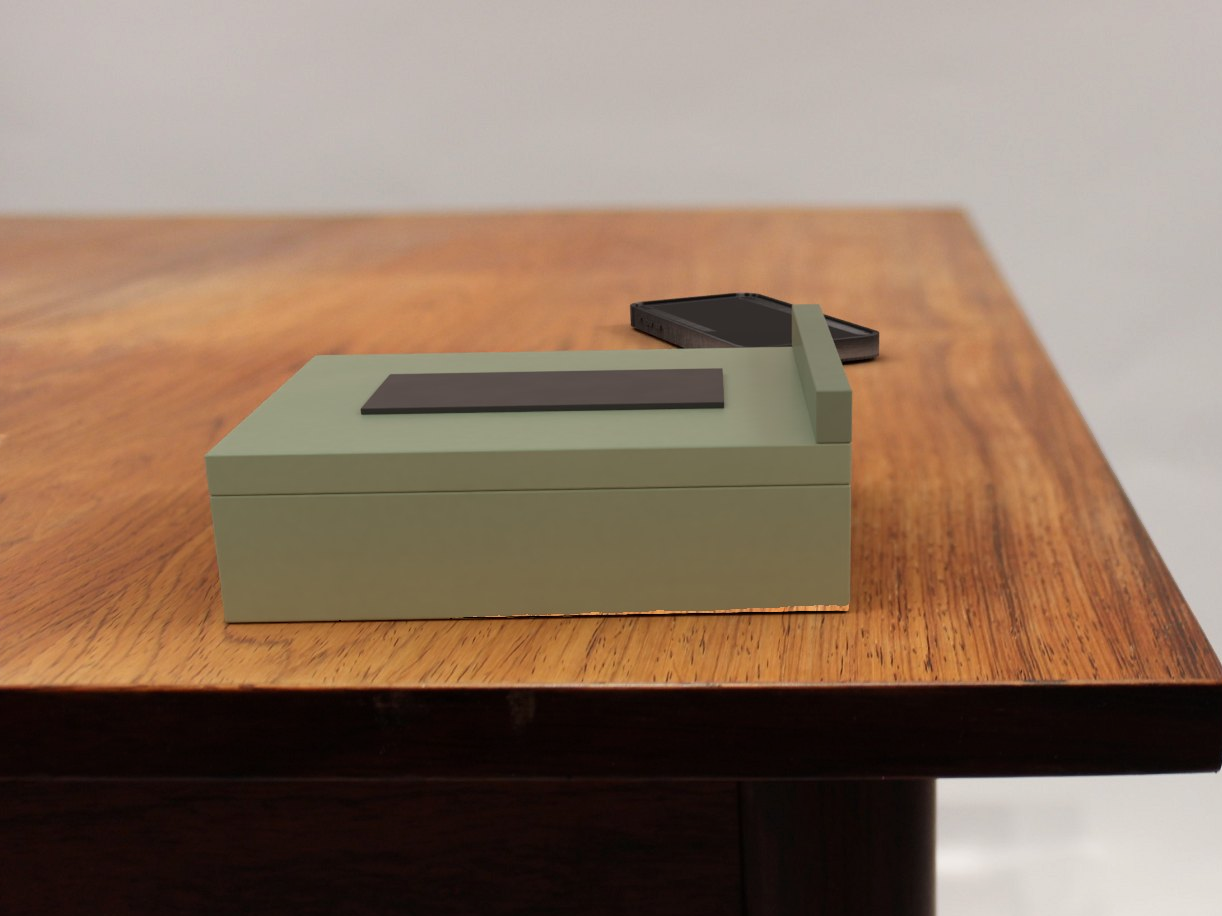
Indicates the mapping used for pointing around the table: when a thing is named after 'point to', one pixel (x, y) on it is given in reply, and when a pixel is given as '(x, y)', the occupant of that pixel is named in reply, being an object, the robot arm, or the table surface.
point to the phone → (741, 324)
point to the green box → (541, 484)
